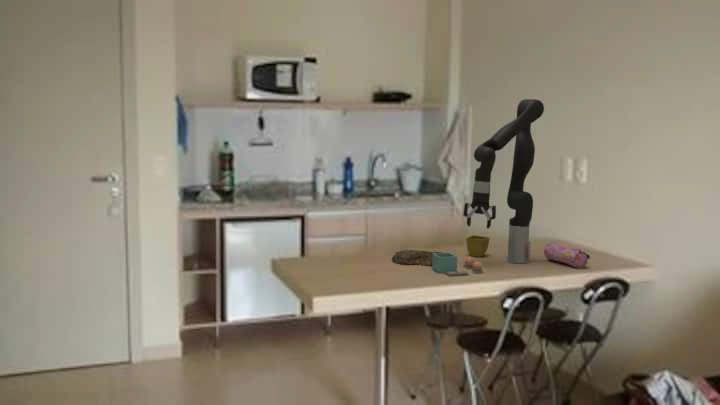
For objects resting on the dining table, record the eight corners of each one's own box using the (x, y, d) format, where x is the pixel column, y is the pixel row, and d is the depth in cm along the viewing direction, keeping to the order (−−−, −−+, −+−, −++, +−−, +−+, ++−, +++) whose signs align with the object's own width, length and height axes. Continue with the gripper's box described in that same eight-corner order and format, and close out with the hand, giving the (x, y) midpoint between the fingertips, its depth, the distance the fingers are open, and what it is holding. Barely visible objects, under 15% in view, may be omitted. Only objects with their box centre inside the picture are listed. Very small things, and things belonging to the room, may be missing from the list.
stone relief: (396, 244, 356) (458, 248, 350) (396, 253, 356) (458, 257, 351) (388, 255, 330) (454, 259, 325) (387, 265, 331) (454, 269, 325)
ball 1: (471, 264, 329) (471, 256, 328) (474, 266, 325) (475, 258, 325) (462, 265, 328) (463, 256, 327) (466, 267, 324) (466, 258, 323)
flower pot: (489, 255, 354) (490, 237, 353) (482, 258, 347) (482, 239, 345) (472, 253, 359) (473, 235, 357) (465, 256, 351) (465, 237, 350)
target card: (463, 272, 317) (463, 270, 317) (468, 275, 313) (468, 272, 312) (444, 273, 315) (444, 271, 315) (449, 276, 310) (449, 274, 310)
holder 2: (479, 271, 320) (479, 268, 320) (483, 273, 317) (483, 270, 317) (471, 271, 319) (471, 269, 319) (475, 273, 316) (475, 270, 316)
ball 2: (479, 269, 320) (480, 260, 320) (483, 271, 317) (484, 262, 316) (471, 269, 319) (471, 260, 319) (475, 271, 316) (475, 262, 315)
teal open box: (449, 268, 325) (449, 252, 324) (456, 272, 317) (457, 256, 316) (432, 269, 323) (432, 253, 322) (439, 273, 315) (439, 257, 314)
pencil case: (589, 268, 331) (591, 248, 330) (575, 270, 327) (576, 250, 325) (556, 258, 349) (557, 240, 348) (542, 260, 345) (543, 241, 344)
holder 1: (470, 266, 329) (470, 264, 329) (474, 268, 325) (474, 265, 325) (463, 267, 328) (463, 264, 328) (466, 268, 324) (466, 266, 324)
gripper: (498, 192, 328) (495, 228, 330) (467, 189, 333) (464, 224, 335) (495, 193, 321) (492, 229, 323) (464, 190, 326) (461, 226, 328)
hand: (478, 227), depth 329 cm, fingers open, 8 cm apart
